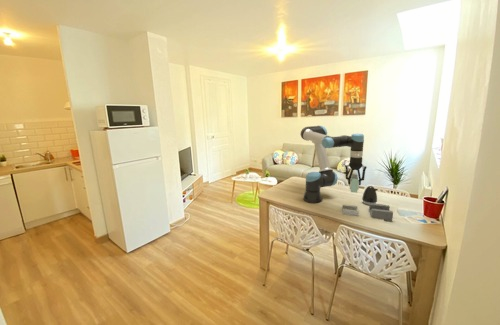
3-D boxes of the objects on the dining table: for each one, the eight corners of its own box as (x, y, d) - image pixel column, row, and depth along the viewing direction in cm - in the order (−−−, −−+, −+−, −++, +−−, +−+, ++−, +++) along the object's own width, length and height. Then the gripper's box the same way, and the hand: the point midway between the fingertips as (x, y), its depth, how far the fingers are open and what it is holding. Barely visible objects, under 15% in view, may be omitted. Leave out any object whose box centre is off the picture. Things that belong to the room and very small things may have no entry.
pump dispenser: (371, 208, 156) (373, 189, 153) (359, 203, 165) (360, 185, 162) (379, 205, 161) (381, 186, 157) (367, 200, 170) (368, 183, 166)
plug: (350, 192, 145) (351, 175, 142) (350, 189, 149) (351, 173, 146) (357, 192, 143) (358, 176, 140) (356, 190, 147) (357, 174, 145)
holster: (342, 215, 148) (343, 210, 147) (342, 209, 157) (342, 204, 156) (358, 217, 144) (358, 212, 143) (356, 210, 153) (357, 205, 152)
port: (371, 218, 141) (372, 209, 140) (368, 211, 152) (369, 202, 151) (392, 221, 137) (393, 211, 135) (387, 213, 148) (388, 204, 146)
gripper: (342, 157, 140) (340, 189, 146) (371, 158, 134) (368, 192, 139) (342, 155, 147) (340, 186, 152) (369, 156, 141) (367, 188, 146)
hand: (353, 189), depth 146 cm, fingers closed on plug, 4 cm apart
